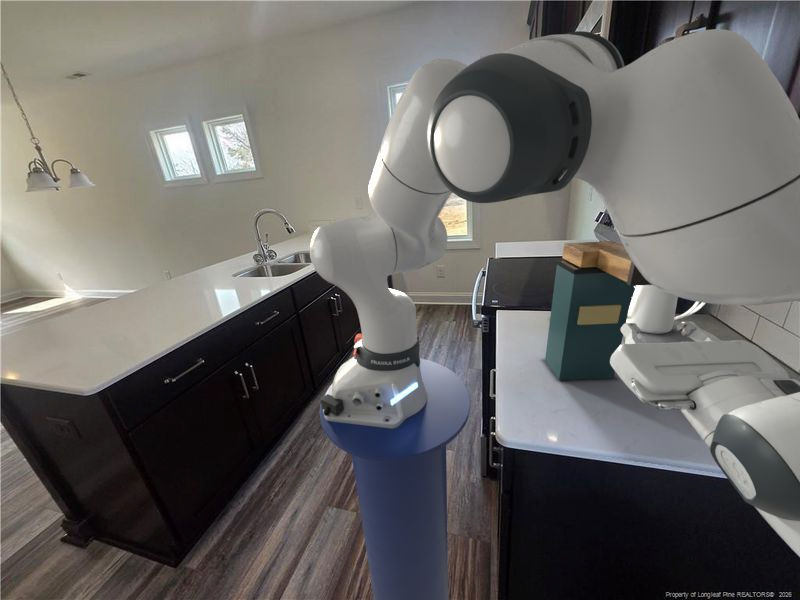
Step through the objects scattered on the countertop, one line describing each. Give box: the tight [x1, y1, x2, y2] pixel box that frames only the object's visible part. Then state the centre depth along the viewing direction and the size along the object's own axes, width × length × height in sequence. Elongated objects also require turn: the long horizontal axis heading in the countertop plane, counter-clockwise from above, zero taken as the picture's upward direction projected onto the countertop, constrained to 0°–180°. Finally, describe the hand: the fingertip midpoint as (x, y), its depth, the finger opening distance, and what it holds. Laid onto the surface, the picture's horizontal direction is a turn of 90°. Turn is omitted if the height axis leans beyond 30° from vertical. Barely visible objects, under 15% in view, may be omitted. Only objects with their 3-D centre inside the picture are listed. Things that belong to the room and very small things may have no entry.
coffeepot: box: [626, 285, 707, 335], centre depth 88 cm, size 11×25×19 cm, turn 74°
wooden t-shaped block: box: [561, 240, 652, 287], centre depth 60 cm, size 10×18×4 cm, turn 178°
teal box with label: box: [544, 258, 635, 381], centre depth 70 cm, size 13×9×26 cm
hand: (655, 324), depth 50 cm, fingers open, 8 cm apart
